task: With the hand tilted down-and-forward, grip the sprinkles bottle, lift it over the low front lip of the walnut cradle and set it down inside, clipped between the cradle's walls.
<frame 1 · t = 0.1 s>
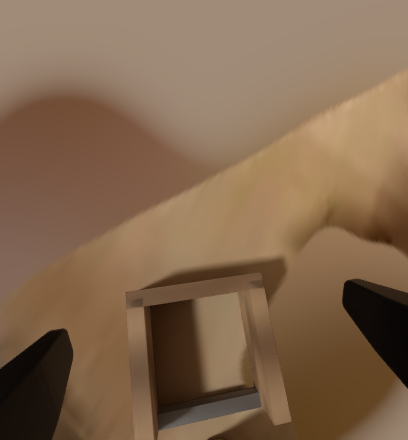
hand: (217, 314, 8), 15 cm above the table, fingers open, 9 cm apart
cradle: (200, 345, 21), on the table
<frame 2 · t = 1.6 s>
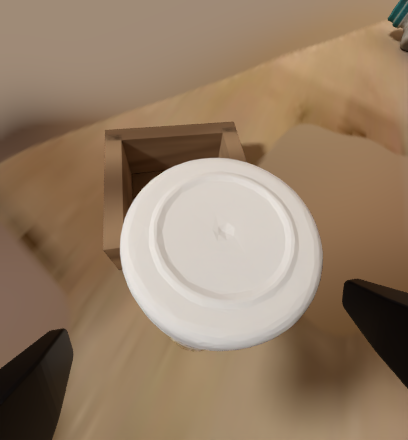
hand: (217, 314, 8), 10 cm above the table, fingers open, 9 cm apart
cradle: (180, 205, 21), on the table
sprinkles bottle: (197, 314, 17), on the table
when the fingers open (8 cm above the table, at t = 5.9 s): sprinkles bottle drops 1 cm, resting in cradle.
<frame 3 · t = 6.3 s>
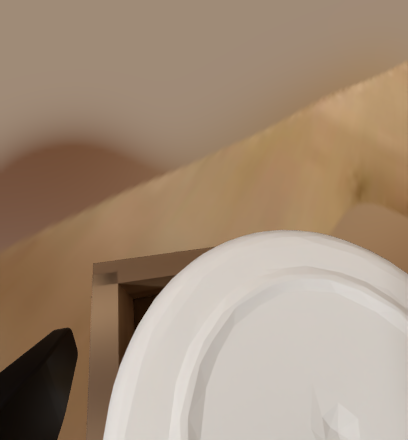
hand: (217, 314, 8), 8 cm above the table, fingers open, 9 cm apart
cradle: (206, 357, 14), on the table
sprinkles bottle: (207, 363, 14), resting in cradle
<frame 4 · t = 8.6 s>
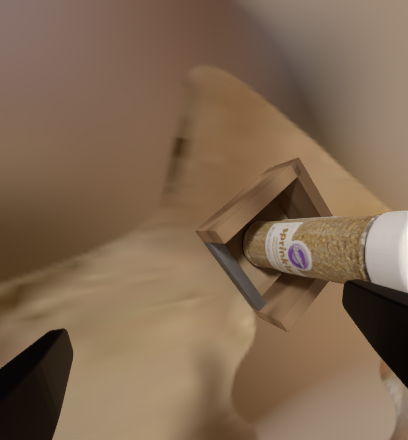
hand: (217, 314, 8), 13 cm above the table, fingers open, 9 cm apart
cradle: (262, 241, 24), on the table
sprinkles bottle: (259, 243, 24), resting in cradle
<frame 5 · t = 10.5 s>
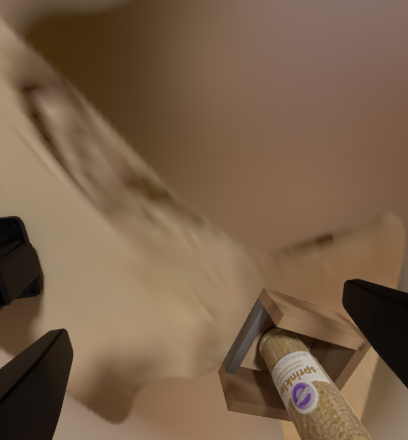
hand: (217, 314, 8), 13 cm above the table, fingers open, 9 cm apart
cradle: (280, 342, 26), on the table
sprinkles bottle: (276, 340, 26), resting in cradle
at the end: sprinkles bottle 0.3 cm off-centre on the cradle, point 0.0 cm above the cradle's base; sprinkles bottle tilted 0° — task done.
